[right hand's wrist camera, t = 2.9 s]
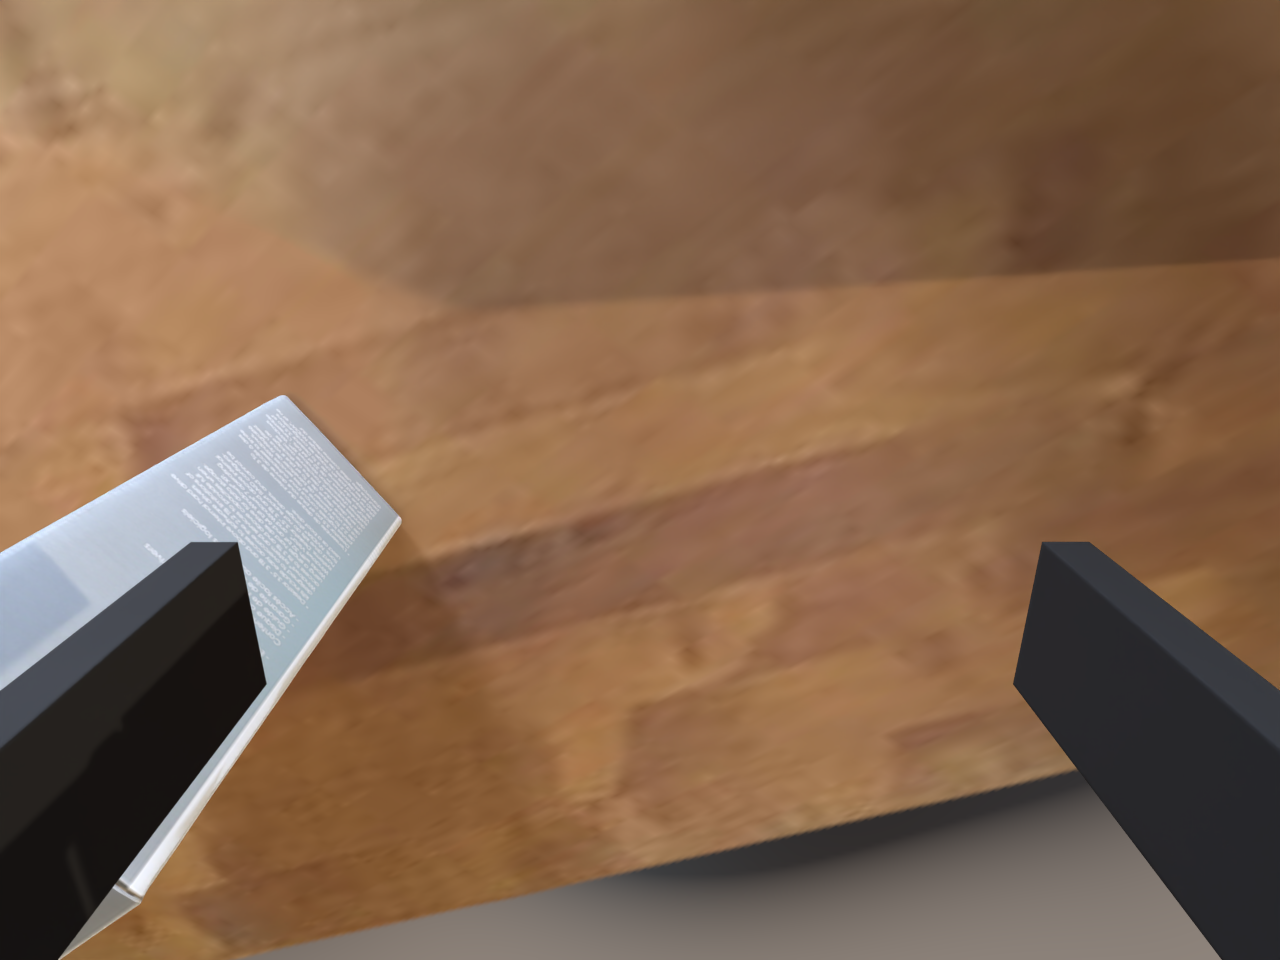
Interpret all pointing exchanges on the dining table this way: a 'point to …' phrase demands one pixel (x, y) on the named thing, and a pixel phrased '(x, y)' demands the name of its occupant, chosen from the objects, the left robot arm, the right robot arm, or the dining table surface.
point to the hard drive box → (205, 512)
